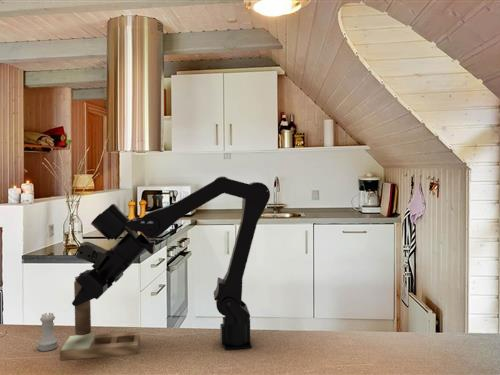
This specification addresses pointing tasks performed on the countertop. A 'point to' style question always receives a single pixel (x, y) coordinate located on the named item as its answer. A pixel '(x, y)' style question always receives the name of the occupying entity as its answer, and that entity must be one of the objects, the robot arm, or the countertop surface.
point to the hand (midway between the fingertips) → (76, 302)
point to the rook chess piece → (47, 333)
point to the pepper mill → (82, 313)
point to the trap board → (100, 345)
